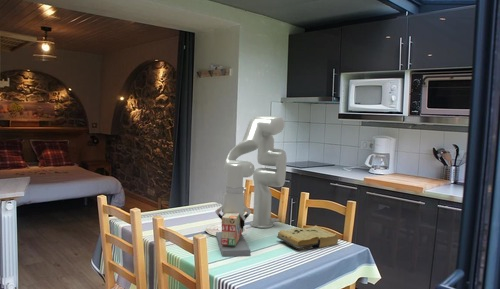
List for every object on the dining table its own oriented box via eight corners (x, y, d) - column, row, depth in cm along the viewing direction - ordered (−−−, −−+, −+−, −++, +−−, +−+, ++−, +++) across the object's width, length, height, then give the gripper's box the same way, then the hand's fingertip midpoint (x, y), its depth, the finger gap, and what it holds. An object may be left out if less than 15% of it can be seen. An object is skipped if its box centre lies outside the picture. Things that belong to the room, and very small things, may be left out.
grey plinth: (240, 236, 188) (240, 231, 188) (250, 255, 162) (250, 250, 162) (216, 237, 186) (216, 232, 185) (222, 256, 160) (222, 250, 160)
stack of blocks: (230, 230, 185) (231, 205, 185) (243, 231, 185) (244, 206, 184) (220, 244, 164) (221, 216, 163) (235, 246, 163) (236, 217, 163)
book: (316, 235, 196) (316, 224, 195) (338, 245, 181) (339, 233, 181) (275, 242, 183) (276, 230, 182) (297, 253, 169) (297, 240, 168)
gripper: (251, 188, 178) (250, 225, 179) (214, 188, 174) (213, 226, 176) (254, 191, 170) (253, 230, 172) (215, 191, 167) (214, 231, 168)
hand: (232, 228), depth 174 cm, fingers closed on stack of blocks, 7 cm apart
